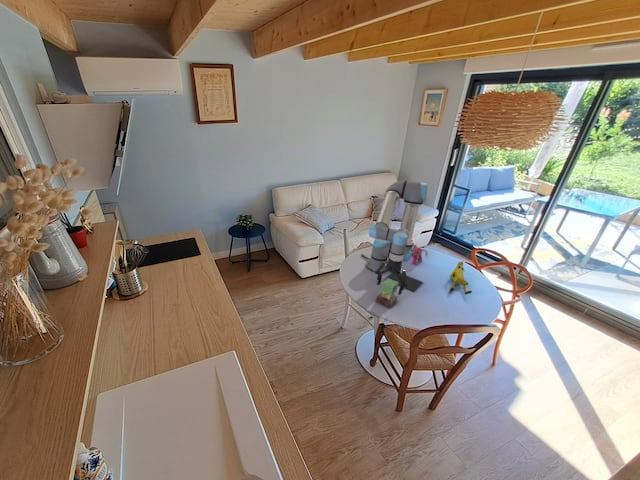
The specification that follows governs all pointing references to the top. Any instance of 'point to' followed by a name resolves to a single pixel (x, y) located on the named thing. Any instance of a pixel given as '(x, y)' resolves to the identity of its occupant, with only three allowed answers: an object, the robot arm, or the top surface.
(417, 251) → the toy
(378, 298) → the walnut block
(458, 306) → the top surface
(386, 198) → the robot arm
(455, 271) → the figurine
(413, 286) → the mat
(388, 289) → the green block
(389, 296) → the beech block
